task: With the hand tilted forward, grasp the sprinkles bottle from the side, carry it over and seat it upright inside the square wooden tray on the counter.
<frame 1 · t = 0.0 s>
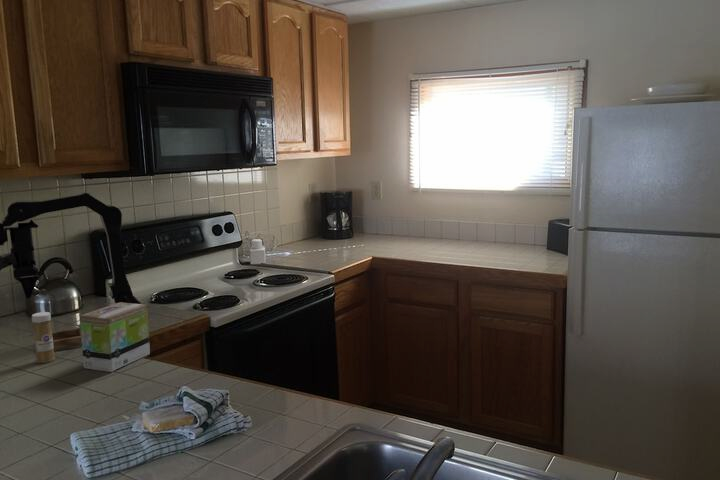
hand: (28, 295, 183), 15 cm above the worktop, tool pointing down, fingers open, 9 cm apart
sprinkles bottle: (46, 361, 168), on the worktop
square wooden tray: (66, 344, 182), on the worktop
tea box: (118, 362, 166), on the worktop
medicine bottle: (258, 263, 302), on the worktop
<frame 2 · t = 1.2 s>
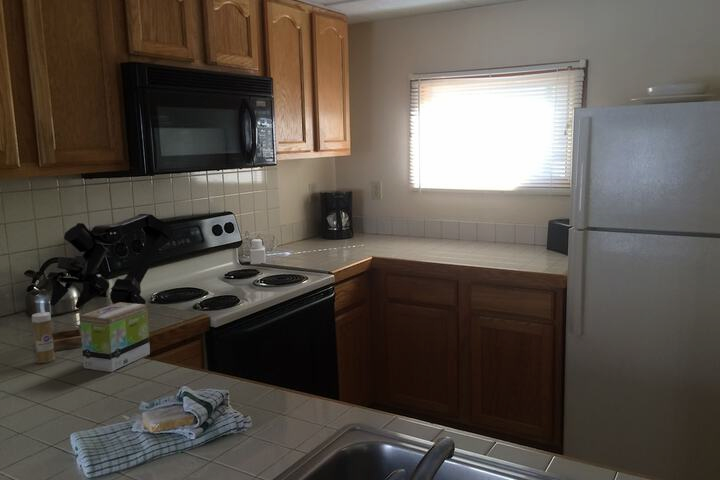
hand: (63, 306, 173), 13 cm above the worktop, tool tilted 45°, fingers open, 9 cm apart
nothing on the worktop moved.
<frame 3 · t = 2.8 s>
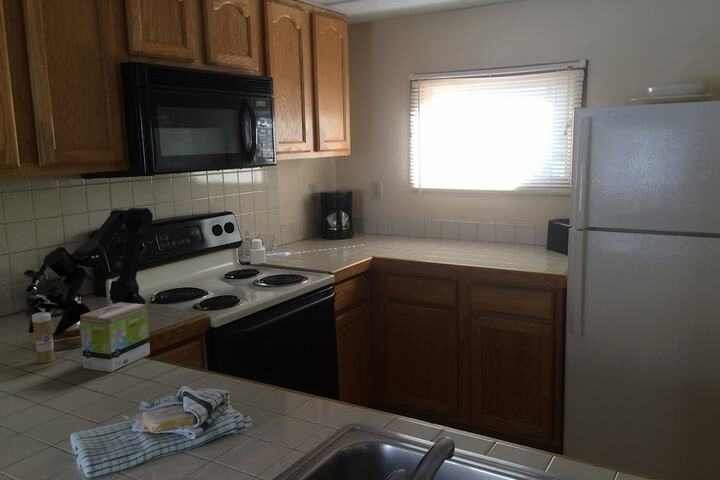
hand: (42, 334, 167), 8 cm above the worktop, tool tilted 45°, fingers open, 9 cm apart
nothing on the worktop moved.
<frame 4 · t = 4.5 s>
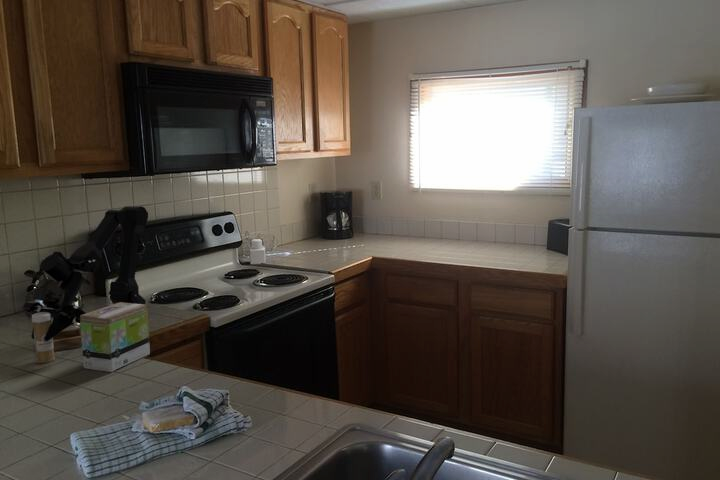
hand: (39, 339, 166), 7 cm above the worktop, tool tilted 45°, fingers closed on sprinkles bottle, 4 cm apart
sprinkles bottle: (46, 361, 168), on the worktop, touching gripper
everything else where it was.
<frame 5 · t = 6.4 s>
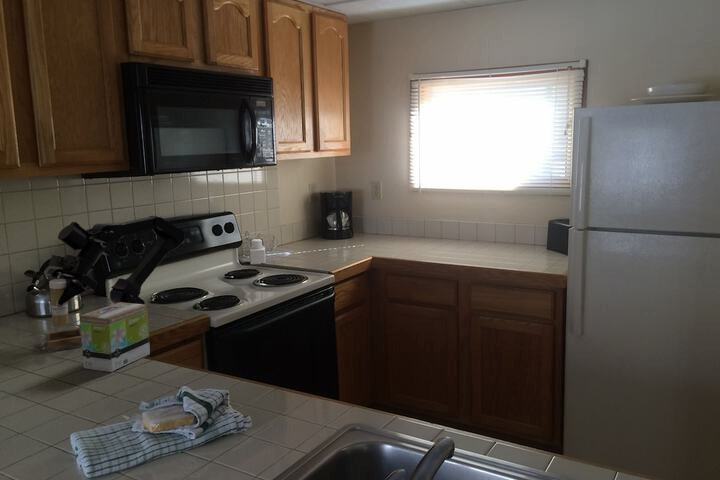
hand: (54, 303, 178), 13 cm above the worktop, tool tilted 45°, fingers closed on sprinkles bottle, 4 cm apart
sprinkles bottle: (60, 324, 181), point 6 cm above the worktop, touching gripper
everything else where it was.
when the fingers open (9 cm above the worktop, at t = 8.5 s): sprinkles bottle stays where it is, resting on square wooden tray.
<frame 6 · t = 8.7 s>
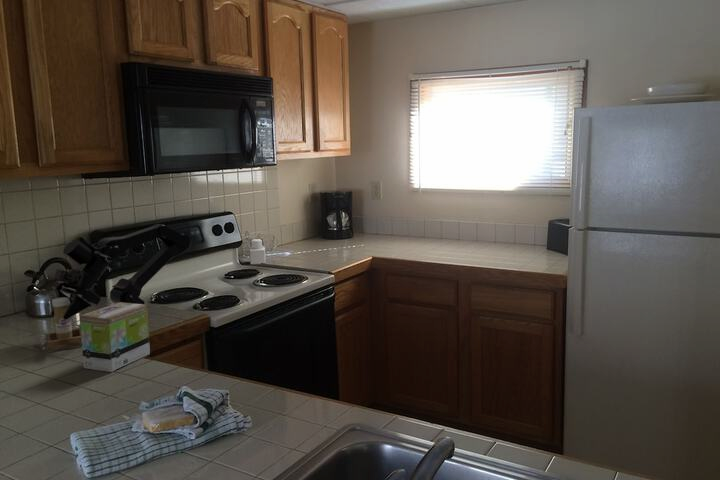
hand: (58, 316, 180), 9 cm above the worktop, tool tilted 45°, fingers open, 7 cm apart
sprinkles bottle: (65, 343, 183), resting on square wooden tray
everything else where it was.
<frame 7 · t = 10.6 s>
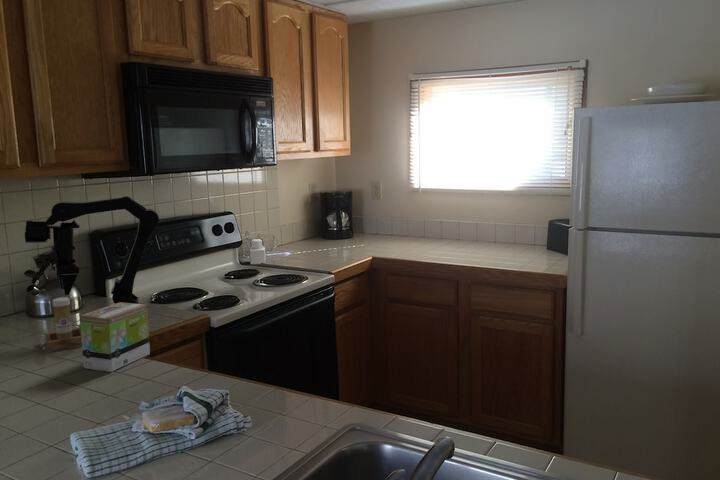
hand: (65, 291, 191), 14 cm above the worktop, tool pointing down, fingers open, 9 cm apart
nothing on the worktop moved.
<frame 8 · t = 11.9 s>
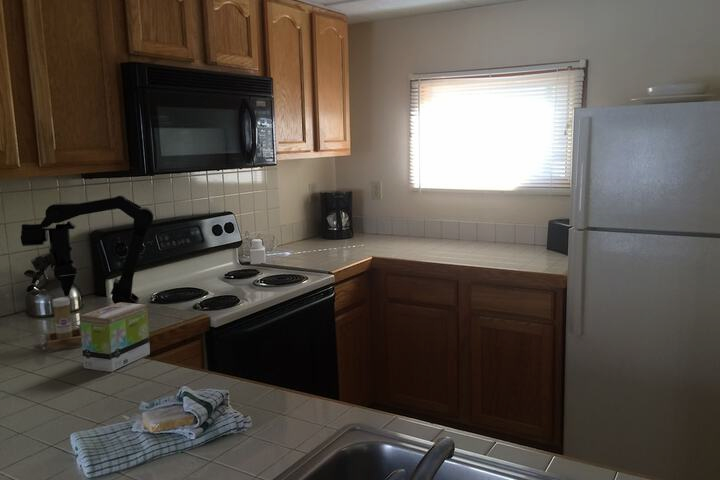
hand: (65, 292, 191), 13 cm above the worktop, tool pointing down, fingers open, 9 cm apart
nothing on the worktop moved.
at the end: sprinkles bottle 0.7 cm off-centre on the square wooden tray, point 0.2 cm above the square wooden tray's base; sprinkles bottle tilted 0°; the gripper is holding nothing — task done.
